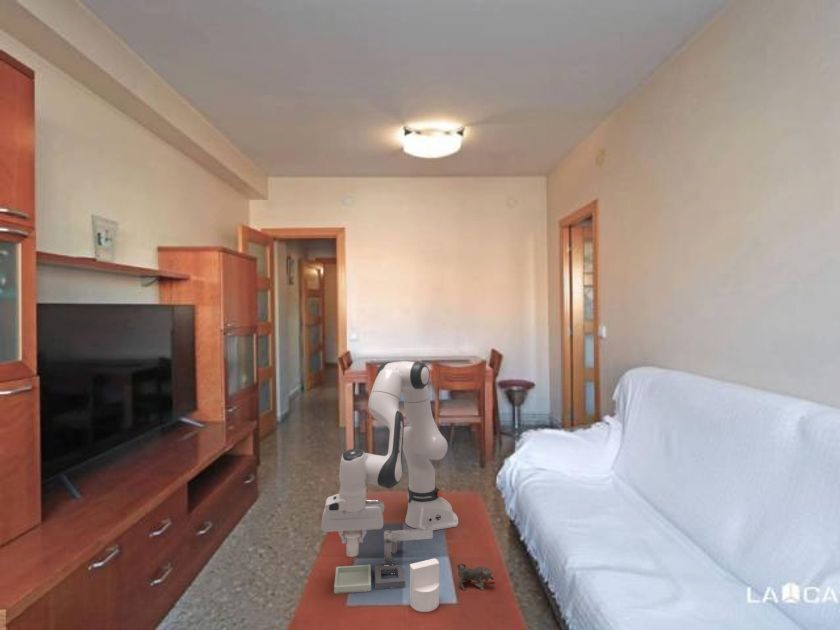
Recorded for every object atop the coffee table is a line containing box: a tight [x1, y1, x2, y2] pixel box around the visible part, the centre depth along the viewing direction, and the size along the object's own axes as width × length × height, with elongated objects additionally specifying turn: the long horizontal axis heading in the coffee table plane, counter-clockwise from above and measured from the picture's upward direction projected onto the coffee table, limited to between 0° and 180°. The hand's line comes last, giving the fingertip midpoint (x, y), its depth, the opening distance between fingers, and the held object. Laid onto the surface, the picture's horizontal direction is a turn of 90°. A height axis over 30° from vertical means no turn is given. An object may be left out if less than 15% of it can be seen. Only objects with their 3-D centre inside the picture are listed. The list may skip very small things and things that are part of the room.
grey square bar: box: [383, 528, 434, 543], centre depth 164 cm, size 17×3×3 cm, turn 98°
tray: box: [333, 564, 372, 595], centre depth 152 cm, size 12×12×2 cm
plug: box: [344, 530, 362, 558], centre depth 151 cm, size 5×5×7 cm
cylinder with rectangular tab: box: [409, 557, 440, 613], centre depth 141 cm, size 9×9×12 cm
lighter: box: [391, 541, 401, 553], centre depth 170 cm, size 7×2×8 cm, turn 83°
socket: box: [374, 542, 406, 590], centre depth 156 cm, size 10×17×8 cm, turn 7°
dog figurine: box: [457, 562, 495, 592], centre depth 150 cm, size 12×6×7 cm, turn 86°
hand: (352, 542), depth 151 cm, fingers closed on plug, 4 cm apart
